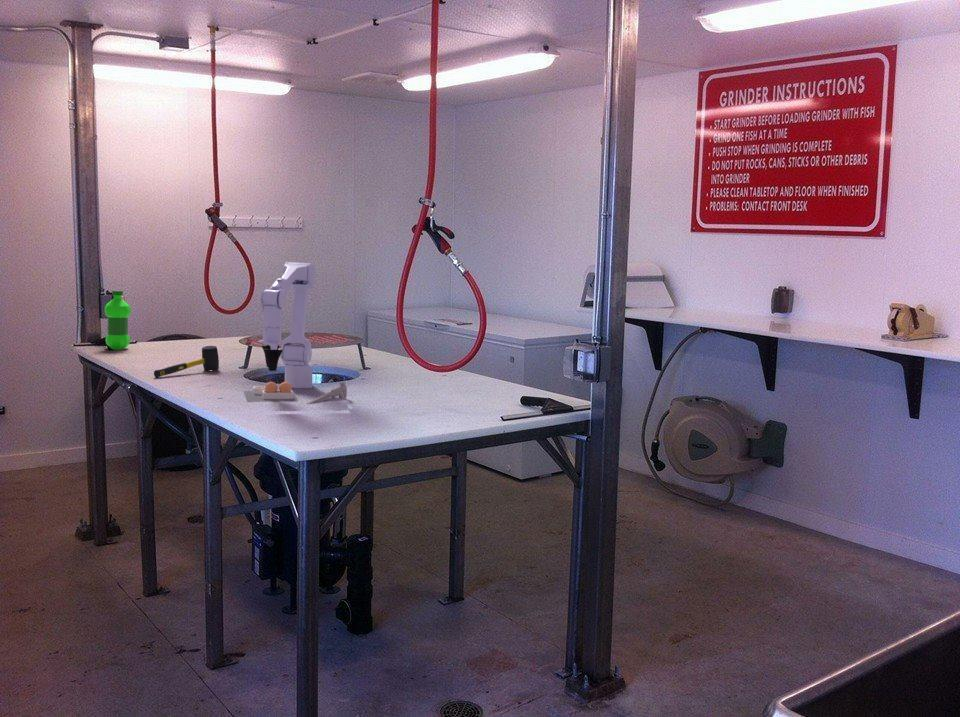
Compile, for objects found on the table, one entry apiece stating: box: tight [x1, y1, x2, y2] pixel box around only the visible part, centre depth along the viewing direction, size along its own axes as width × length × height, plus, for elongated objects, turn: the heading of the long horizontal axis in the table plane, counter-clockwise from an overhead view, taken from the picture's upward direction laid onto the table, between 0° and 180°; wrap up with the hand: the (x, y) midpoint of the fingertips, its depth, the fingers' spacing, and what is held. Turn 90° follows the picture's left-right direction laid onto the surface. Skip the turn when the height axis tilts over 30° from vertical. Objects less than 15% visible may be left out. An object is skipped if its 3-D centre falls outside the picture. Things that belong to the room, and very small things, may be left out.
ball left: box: [278, 381, 293, 393], centre depth 287 cm, size 4×4×4 cm
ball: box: [264, 381, 279, 393], centre depth 285 cm, size 4×4×4 cm
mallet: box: [153, 345, 220, 379], centre depth 327 cm, size 29×6×10 cm, turn 150°
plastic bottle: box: [104, 290, 132, 351], centre depth 379 cm, size 10×10×25 cm
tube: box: [252, 385, 266, 394], centre depth 292 cm, size 4×4×2 cm
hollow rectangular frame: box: [262, 389, 295, 399], centre depth 286 cm, size 10×4×2 cm, turn 108°
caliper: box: [306, 381, 348, 405], centre depth 287 cm, size 20×1×6 cm, turn 151°
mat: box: [243, 390, 299, 403], centre depth 289 cm, size 16×18×1 cm
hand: (271, 368), depth 285 cm, fingers open, 7 cm apart
